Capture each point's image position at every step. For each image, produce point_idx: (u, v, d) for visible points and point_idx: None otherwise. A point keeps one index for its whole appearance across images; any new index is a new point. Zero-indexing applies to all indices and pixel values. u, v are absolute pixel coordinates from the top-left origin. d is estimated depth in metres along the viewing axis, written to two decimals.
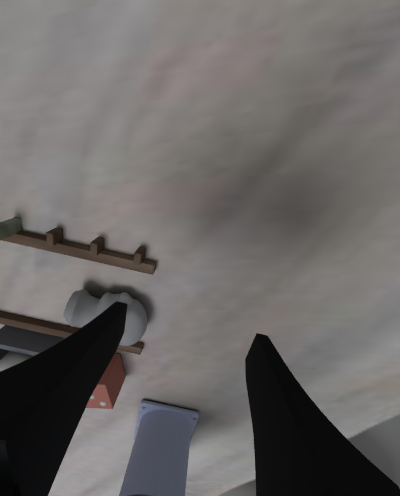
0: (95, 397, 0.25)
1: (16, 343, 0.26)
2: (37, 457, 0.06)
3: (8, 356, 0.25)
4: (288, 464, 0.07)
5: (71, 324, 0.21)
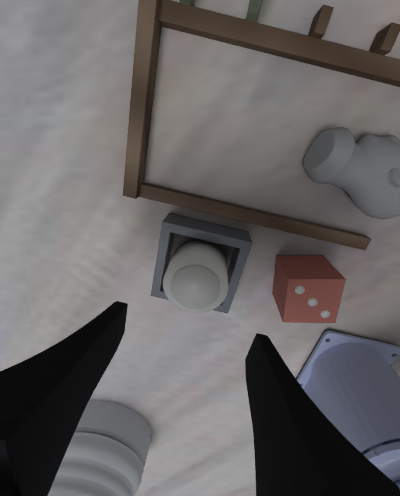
0: (318, 303, 0.18)
1: (200, 228, 0.18)
2: (37, 457, 0.07)
3: (191, 246, 0.18)
4: (288, 464, 0.07)
5: (346, 163, 0.14)
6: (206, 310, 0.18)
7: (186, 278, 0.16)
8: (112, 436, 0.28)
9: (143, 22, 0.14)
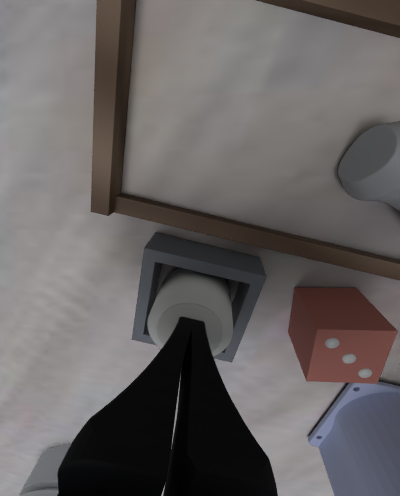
0: (356, 360, 0.13)
1: (196, 256, 0.13)
2: None
3: (185, 273, 0.14)
4: (180, 441, 0.07)
5: None
6: None
7: None
8: None
9: None
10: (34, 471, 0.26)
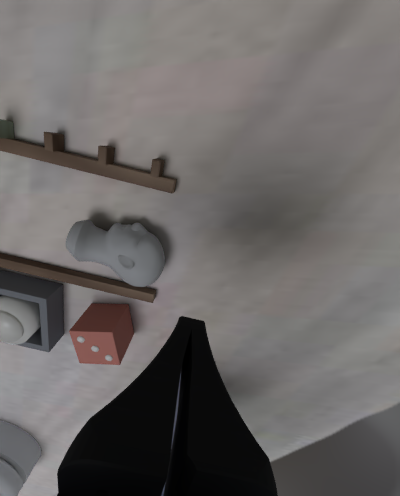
0: (100, 349, 0.21)
1: (7, 286, 0.22)
2: None
3: None
4: (180, 441, 0.07)
5: (75, 254, 0.18)
6: (20, 342, 0.23)
7: None
8: None
9: None
10: None
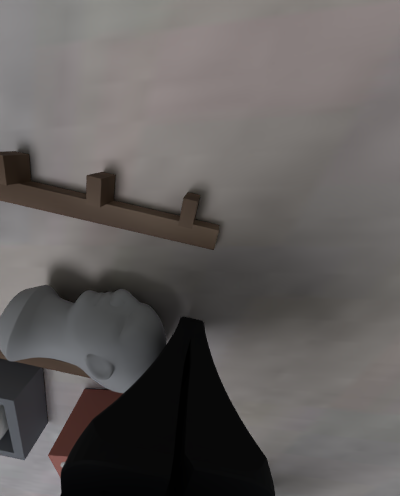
0: None
1: None
2: None
3: None
4: (178, 440, 0.07)
5: (10, 358, 0.10)
6: None
7: None
8: None
9: None
10: None
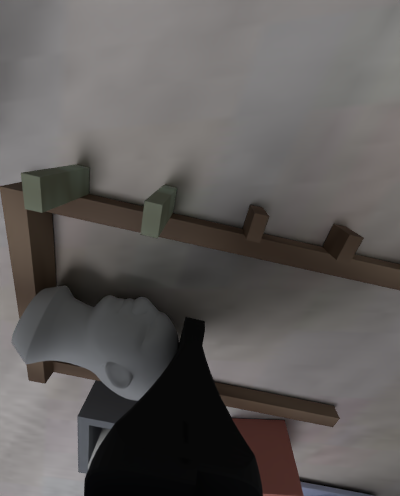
0: None
1: None
2: None
3: None
4: None
5: (27, 361, 0.10)
6: None
7: None
8: None
9: (14, 224, 0.10)
10: None
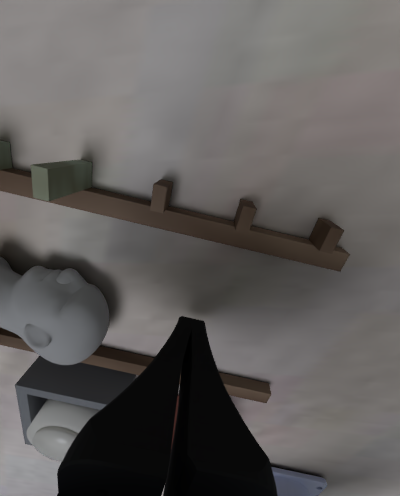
0: None
1: (65, 387, 0.15)
2: None
3: None
4: (180, 441, 0.07)
5: None
6: None
7: (47, 439, 0.15)
8: None
9: None
10: None
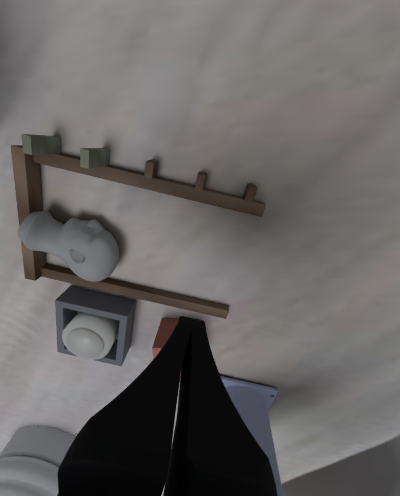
0: None
1: (88, 303, 0.22)
2: None
3: None
4: (180, 441, 0.07)
5: (26, 244, 0.18)
6: (98, 358, 0.23)
7: (76, 337, 0.22)
8: (47, 459, 0.33)
9: (17, 167, 0.18)
10: (7, 445, 0.35)
